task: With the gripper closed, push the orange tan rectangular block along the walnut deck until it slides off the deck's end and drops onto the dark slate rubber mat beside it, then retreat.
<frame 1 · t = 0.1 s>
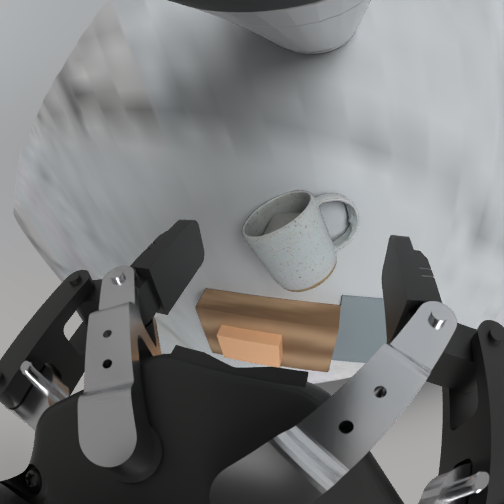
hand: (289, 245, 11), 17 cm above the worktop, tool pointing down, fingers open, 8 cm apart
deck: (272, 323, 42), on the worktop
mat: (378, 335, 37), on the worktop
ceramic mug: (308, 217, 30), on the worktop
orange tan rectangular block: (252, 341, 39), point 4 cm above the worktop, touching deck
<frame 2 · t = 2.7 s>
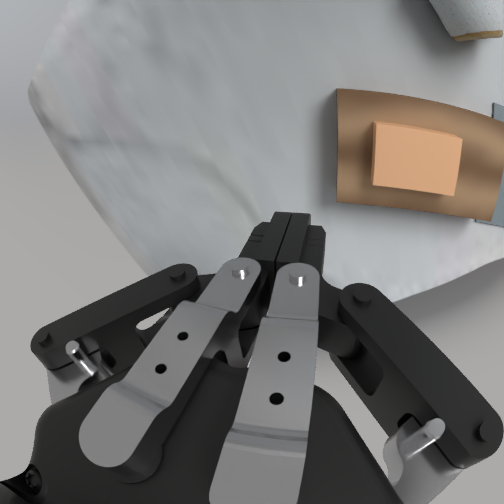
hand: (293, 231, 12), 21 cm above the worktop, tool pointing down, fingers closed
deck: (421, 149, 25), on the worktop
ceramic mug: (457, 8, 13), on the worktop
orange tan rectangular block: (414, 155, 22), point 4 cm above the worktop, touching deck
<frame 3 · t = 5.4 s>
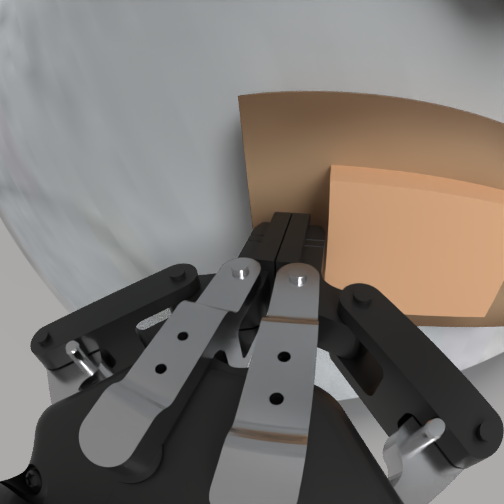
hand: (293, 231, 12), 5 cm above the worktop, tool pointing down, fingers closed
deck: (432, 205, 13), on the worktop
orange tan rectangular block: (421, 237, 11), point 4 cm above the worktop, touching deck, gripper
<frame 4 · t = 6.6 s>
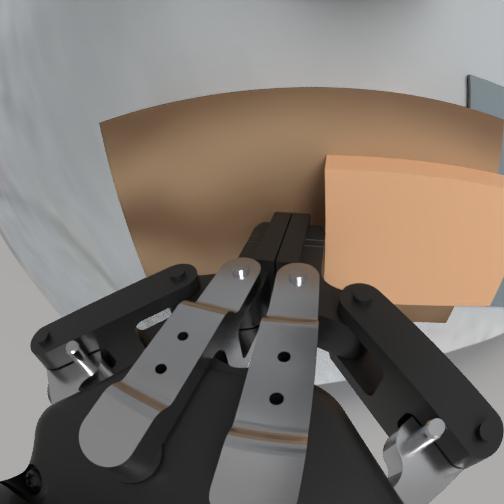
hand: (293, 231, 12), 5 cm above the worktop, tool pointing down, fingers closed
deck: (299, 189, 16), on the worktop
orange tan rectangular block: (422, 225, 11), point 4 cm above the worktop, touching gripper
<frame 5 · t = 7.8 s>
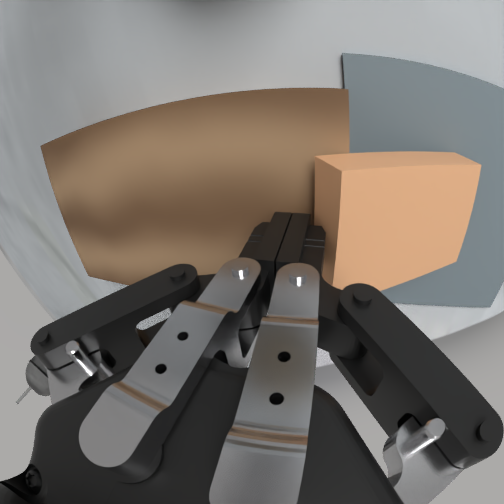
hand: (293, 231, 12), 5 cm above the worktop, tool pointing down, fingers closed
deck: (188, 188, 18), on the worktop
beverage cup: (78, 329, 42), on the worktop
mat: (451, 204, 13), on the worktop
orange tan rectangular block: (394, 210, 12), point 3 cm above the worktop, tilted 30°, touching gripper
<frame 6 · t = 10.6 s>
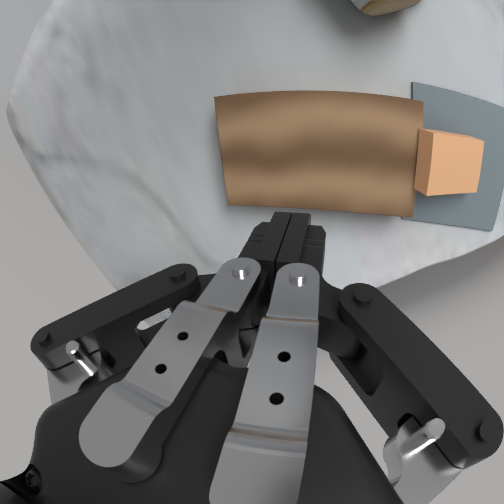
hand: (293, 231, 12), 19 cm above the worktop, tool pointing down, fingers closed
deck: (321, 144, 27), on the worktop
mat: (462, 162, 22), on the worktop
orange tan rectangular block: (445, 159, 21), point 2 cm above the worktop, tilted 26°, touching deck, mat
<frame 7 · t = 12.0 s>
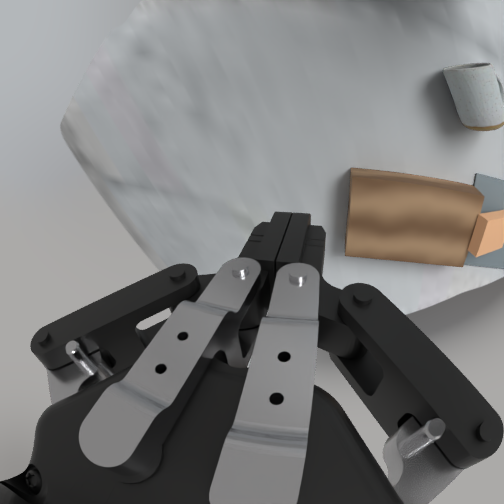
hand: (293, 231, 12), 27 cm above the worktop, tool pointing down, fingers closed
deck: (411, 213, 35), on the worktop
mat: (495, 226, 30), on the worktop
ceramic mug: (470, 89, 22), on the worktop
orange tan rectangular block: (487, 228, 29), point 2 cm above the worktop, tilted 26°, touching deck, mat
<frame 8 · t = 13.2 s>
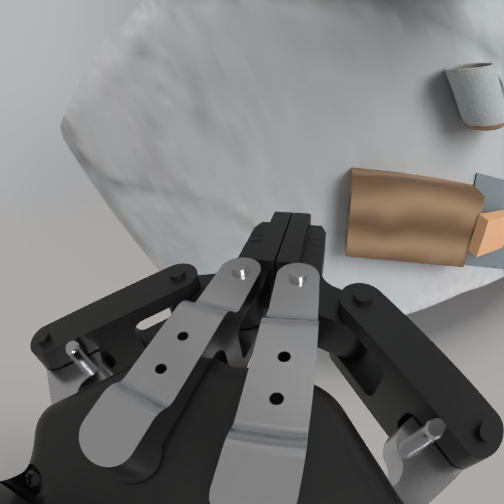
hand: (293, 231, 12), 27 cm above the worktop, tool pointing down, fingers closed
deck: (412, 213, 35), on the worktop
mat: (496, 226, 30), on the worktop
ceramic mug: (472, 88, 22), on the worktop
orange tan rectangular block: (488, 228, 29), point 2 cm above the worktop, tilted 26°, touching deck, mat
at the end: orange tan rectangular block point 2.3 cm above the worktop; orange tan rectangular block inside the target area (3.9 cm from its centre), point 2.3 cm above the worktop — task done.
